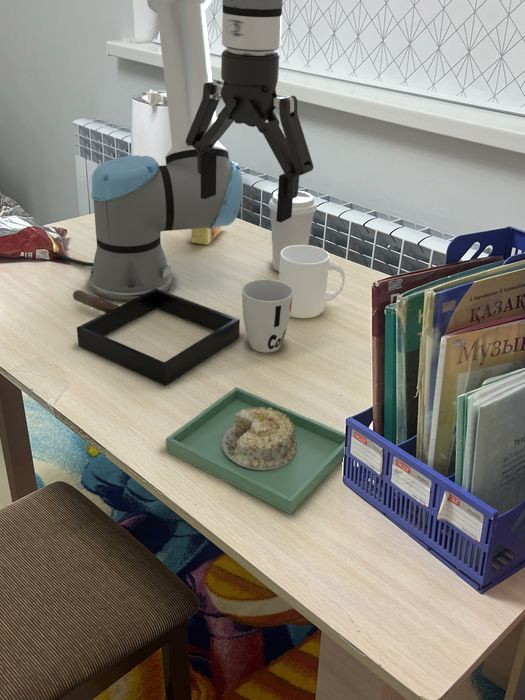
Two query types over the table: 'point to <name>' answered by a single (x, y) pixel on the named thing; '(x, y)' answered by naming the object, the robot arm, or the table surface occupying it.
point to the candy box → (204, 235)
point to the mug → (308, 278)
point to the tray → (270, 485)
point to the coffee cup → (291, 224)
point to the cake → (260, 439)
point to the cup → (266, 313)
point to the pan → (118, 316)
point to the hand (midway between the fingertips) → (244, 207)
